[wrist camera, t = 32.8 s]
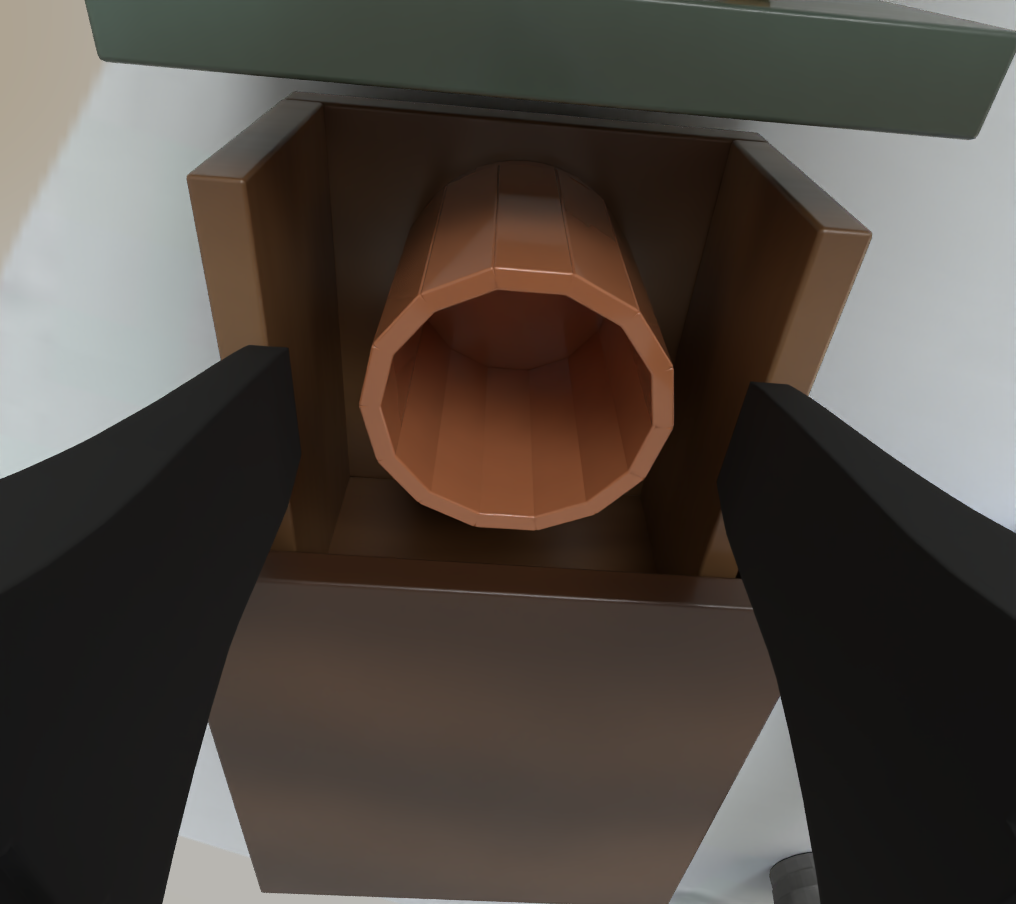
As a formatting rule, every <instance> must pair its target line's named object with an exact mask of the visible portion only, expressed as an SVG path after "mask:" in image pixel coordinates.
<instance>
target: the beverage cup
mask: <svg viewBox="0 0 1016 904" xmlns="http://www.w3.org/2000/svg"><path fill="white" fill-rule="evenodd" d="M769 877H770V881H771V884H772V888H773V890H772V892H773V898H774V904H820V897H819V890H818V883H817V876H816V870H815V865H814V859H813V853H806V854H801V855H796V856H793V857H790V858H787V859H785V860H783V861H781V862H779V863H778V864H776V865H775V866H774V867H773V868H772V869H771V870H770V876H769Z"/></svg>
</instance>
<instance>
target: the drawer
mask: <svg viewBox="0 0 1016 904" xmlns="http://www.w3.org/2000/svg"><path fill="white" fill-rule="evenodd" d="M85 4H86V8H87V12H88V16H89V20H90V24H91V29H92V33H93V37H94V41H95V46H96V50H97V54H98V56H99V58H100V59H101V60H103V61H105V62H113V63H124V64H135V65H146V66H157V67H168V68H179V69H190V70H201V71H212V72H223V73H234V74H245V75H256V76H267V77H278V78H289V79H300V80H311V81H323V82H334V83H345V84H356V85H367V86H378V87H389V88H400V89H411V90H422V91H433V92H444V93H455V94H466V95H477V96H488V97H499V98H510V99H521V100H532V101H543V102H554V103H565V104H577V105H588V106H599V107H610V108H621V109H632V110H643V111H654V112H665V113H676V114H687V115H698V116H709V117H720V118H731V119H742V120H753V121H764V122H775V123H786V124H797V125H808V126H820V127H831V128H842V129H853V130H864V131H875V132H886V133H897V134H908V135H919V136H930V137H941V138H952V139H963V140H971V139H975V138H976V137H977V136H978V134H979V132H980V130H981V127H982V125H983V123H984V121H985V119H986V116H987V114H988V112H989V110H990V108H991V105H992V103H993V101H994V99H995V97H996V94H997V92H998V90H999V88H1000V86H1001V83H1002V81H1003V79H1004V77H1005V75H1006V72H1007V70H1008V68H1009V66H1010V64H1011V61H1012V59H1013V57H1014V55H1015V53H1016V31H1014V30H1009V29H1005V28H1000V27H996V26H991V25H987V24H982V23H978V22H974V21H969V20H965V19H960V18H956V17H951V16H947V15H942V14H938V13H933V12H929V11H924V10H920V9H915V8H911V7H906V6H902V5H897V4H893V3H889V2H884V1H880V0H85ZM503 161H531V162H537V163H543V164H547V165H550V166H553V167H557V168H559V169H561V170H564V171H566V172H568V173H570V174H572V175H574V176H576V177H577V178H579V179H580V180H582V181H583V182H585V183H586V184H587V185H589V186H590V187H591V188H592V189H593V190H594V191H595V192H597V193H598V194H599V196H600V197H601V198H602V199H603V200H604V201H605V202H606V204H607V205H608V206H609V208H610V209H611V211H612V212H613V214H614V216H615V217H616V219H617V221H618V224H619V226H620V228H621V230H622V232H623V233H624V235H625V237H626V239H627V240H628V242H629V245H630V248H631V250H632V253H633V256H634V259H635V261H636V264H637V267H638V270H639V273H640V275H641V278H642V281H643V284H644V286H645V289H646V292H647V295H648V297H649V300H650V303H651V306H652V309H653V311H654V314H655V317H656V320H657V322H658V325H659V328H660V331H661V334H662V336H663V339H664V342H665V345H666V347H667V350H668V353H669V356H670V359H671V361H672V364H673V368H674V426H673V430H672V431H671V433H670V435H669V437H668V439H667V440H666V442H665V444H664V446H663V447H662V449H661V451H660V453H659V455H658V456H657V458H656V460H655V462H654V463H653V465H652V467H651V469H650V471H649V472H648V474H647V476H646V477H645V478H644V480H643V481H641V482H640V483H639V484H637V485H636V486H635V487H633V488H632V489H630V490H629V491H628V492H626V493H625V494H624V495H622V496H621V497H619V498H618V499H617V500H615V501H614V502H613V503H611V504H610V505H608V506H607V507H606V508H604V509H603V510H602V511H600V512H599V513H597V514H596V513H595V515H593V516H589V517H585V518H582V519H578V520H574V521H571V522H567V523H563V524H560V525H556V526H553V527H549V528H545V529H542V530H535V531H530V530H514V529H498V528H482V527H475V526H471V525H469V524H466V523H464V522H461V521H459V520H457V519H454V518H452V517H450V516H447V515H445V514H443V513H440V512H438V511H436V510H433V509H431V508H429V507H426V506H424V505H422V504H420V503H419V502H417V501H416V500H415V499H414V498H413V497H412V496H411V495H410V494H409V493H408V492H407V491H406V490H405V489H404V488H403V487H402V486H401V485H400V484H399V483H398V482H397V481H396V480H395V479H394V478H393V477H392V476H391V475H390V474H389V473H388V472H387V471H386V470H385V469H384V468H383V467H382V466H381V465H380V464H379V463H378V461H377V460H376V458H375V455H374V451H373V448H372V445H371V442H370V439H369V436H368V433H367V430H366V427H365V424H364V421H363V418H362V415H361V411H360V408H359V399H360V394H361V390H362V386H363V381H364V377H365V372H366V368H367V363H368V359H369V354H370V350H371V346H372V343H373V340H374V337H375V334H376V331H377V327H378V324H379V321H380V318H381V315H382V312H383V309H384V306H385V303H386V300H387V297H388V294H389V291H390V288H391V285H392V282H393V279H394V276H395V273H396V270H397V267H398V264H399V260H400V257H401V254H402V251H403V248H404V245H405V242H406V239H407V236H408V233H409V230H410V228H411V226H412V224H413V223H414V221H415V220H416V219H417V218H418V216H419V214H420V212H421V211H422V210H423V208H424V207H425V205H426V204H427V203H428V201H429V200H430V199H431V198H432V197H433V196H434V195H435V194H436V193H437V192H438V191H439V190H440V189H441V188H442V187H444V186H445V185H446V184H447V183H449V182H450V181H451V180H453V179H455V178H456V177H458V176H460V175H462V174H463V173H465V172H467V171H470V170H472V169H475V168H477V167H480V166H483V165H487V164H491V163H495V162H503ZM187 184H188V189H189V194H190V200H191V205H192V210H193V215H194V221H195V226H196V231H197V237H198V242H199V247H200V252H201V258H202V263H203V268H204V274H205V279H206V284H207V290H208V295H209V300H210V305H211V311H212V316H213V321H214V327H215V332H216V337H217V342H218V348H219V353H220V358H221V360H222V359H224V358H226V357H227V356H229V355H231V354H232V353H234V352H236V351H237V350H239V349H241V348H243V347H245V346H247V345H259V346H272V347H286V348H289V355H290V364H291V372H292V380H293V388H294V397H295V405H296V413H297V421H298V430H299V438H300V446H301V458H300V462H299V466H298V470H297V474H296V478H295V482H294V486H293V490H292V493H291V497H290V501H289V504H288V508H287V510H286V513H285V515H284V518H283V520H282V522H281V525H280V527H279V530H278V532H277V534H276V537H275V539H274V542H273V544H272V546H271V549H270V550H275V551H292V552H308V553H325V554H342V555H358V556H375V557H391V558H408V559H425V560H441V561H458V562H474V563H491V564H508V565H524V566H541V567H557V568H574V569H591V570H607V571H624V572H641V573H657V574H674V575H690V576H707V577H724V578H735V577H736V575H737V572H738V567H737V564H736V561H735V558H734V555H733V553H732V550H731V547H730V544H729V541H728V538H727V535H726V530H725V526H724V521H723V516H722V511H721V506H720V500H719V494H718V488H717V483H716V481H717V478H718V475H719V472H720V469H721V466H722V463H723V461H724V458H725V455H726V452H727V449H728V446H729V443H730V440H731V437H732V434H733V431H734V428H735V425H736V422H737V419H738V416H739V413H740V410H741V407H742V404H743V401H744V398H745V395H746V392H747V390H748V387H749V384H750V382H764V383H778V384H789V385H790V386H792V387H794V388H796V389H797V390H799V391H801V392H802V393H804V394H805V395H807V396H808V395H809V393H810V391H811V388H812V386H813V383H814V381H815V378H816V376H817V373H818V371H819V368H820V366H821V363H822V361H823V358H824V356H825V353H826V351H827V348H828V346H829V343H830V341H831V338H832V336H833V333H834V331H835V328H836V326H837V323H838V321H839V318H840V316H841V313H842V311H843V308H844V306H845V303H846V301H847V298H848V296H849V294H850V291H851V289H852V286H853V284H854V281H855V279H856V276H857V274H858V271H859V269H860V266H861V264H862V261H863V259H864V256H865V254H866V251H867V249H868V246H869V244H870V241H871V239H872V232H871V231H870V230H869V229H867V228H866V227H865V226H864V225H863V224H862V223H861V222H859V221H858V220H857V219H856V218H855V217H854V216H853V215H851V214H850V213H849V212H848V211H847V210H846V209H845V208H843V207H842V206H841V205H840V204H839V203H838V202H836V201H835V200H834V199H833V198H832V197H831V196H830V195H828V194H827V193H826V192H825V191H824V190H823V189H822V188H820V187H819V186H818V185H817V184H816V183H815V182H814V181H812V180H811V179H810V178H809V177H808V176H807V175H806V174H804V173H803V172H802V171H801V170H800V169H799V168H798V167H796V166H795V165H794V164H793V163H792V162H791V161H789V160H788V159H787V158H786V157H785V156H784V155H783V154H781V153H780V152H779V151H778V150H777V149H776V148H775V147H773V146H772V145H771V144H770V143H768V141H767V140H765V139H764V138H763V137H762V136H761V135H760V134H758V133H754V132H743V131H732V130H720V129H709V128H698V127H687V126H676V125H665V124H654V123H642V122H631V121H620V120H609V119H598V118H587V117H576V116H564V115H553V114H542V113H531V112H520V111H509V110H498V109H486V108H475V107H464V106H453V105H442V104H431V103H420V102H408V101H397V100H386V99H375V98H364V97H353V96H342V95H330V94H319V93H308V92H297V91H295V92H292V93H291V94H290V95H289V96H287V97H286V98H285V99H284V100H281V101H280V102H279V103H278V104H276V105H275V106H274V107H273V108H271V109H270V110H269V111H267V112H266V113H265V114H264V115H262V116H261V117H260V118H259V119H257V120H256V121H255V122H254V123H252V124H251V125H250V126H249V127H247V128H246V129H245V130H243V131H242V132H241V133H240V134H238V135H237V136H236V137H235V138H233V139H232V140H231V141H230V142H228V143H227V144H226V145H224V146H223V147H222V148H221V149H219V150H218V151H217V152H216V153H214V154H213V155H212V156H211V157H209V158H208V159H207V160H206V161H204V162H203V163H202V164H200V165H199V166H198V167H197V168H195V169H194V170H193V171H192V172H190V173H189V174H188V175H187Z"/></svg>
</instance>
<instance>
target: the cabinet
mask: <svg viewBox="0 0 1016 904" xmlns="http://www.w3.org/2000/svg"><path fill="white" fill-rule="evenodd" d="M779 697H780V692H779V688H778V683H777V679H776V676H775V673H774V669H773V666H772V663H771V660H770V656H769V653H768V650H767V647H766V645H765V642H764V639H763V636H762V634H761V631H760V628H759V625H758V622H757V620H756V617H755V614H754V611H753V609H752V606H751V603H750V600H749V598H748V595H747V592H746V589H745V587H744V584H743V581H742V578H741V575H740V573H739V570H738V572H737V575H736V577H735V578H724V577H707V576H690V575H674V574H657V573H641V572H624V571H607V570H591V569H574V568H557V567H541V566H524V565H508V564H491V563H474V562H458V561H441V560H425V559H408V558H391V557H375V556H358V555H342V554H325V553H308V552H292V551H275V550H270V551H269V553H268V556H267V558H266V560H265V563H264V565H263V567H262V570H261V572H260V575H259V577H258V579H257V582H256V584H255V586H254V589H253V591H252V593H251V596H250V598H249V600H248V603H247V605H246V607H245V610H244V612H243V614H242V617H241V619H240V621H239V624H238V627H237V629H236V632H235V635H234V637H233V640H232V643H231V646H230V648H229V651H228V655H227V658H226V661H225V665H224V668H223V671H222V675H221V678H220V681H219V685H218V688H217V691H216V695H215V698H214V702H213V705H212V708H211V712H210V716H209V719H208V723H209V726H210V729H211V732H212V736H213V739H214V742H215V745H216V748H217V752H218V755H219V758H220V761H221V764H222V768H223V771H224V774H225V777H226V780H227V784H228V787H229V790H230V793H231V796H232V800H233V803H234V806H235V809H236V813H237V816H238V819H239V822H240V825H241V829H242V832H243V835H244V838H245V841H246V845H247V848H248V851H249V854H250V857H251V860H252V864H253V867H254V870H255V873H256V877H257V879H258V883H259V886H260V889H261V892H264V893H265V892H266V893H288V894H289V893H291V894H314V895H315V894H316V895H341V896H367V897H369V896H370V897H393V898H419V899H445V900H471V901H497V902H524V903H550V904H668V903H669V902H670V900H671V898H672V896H673V894H674V892H675V890H676V888H677V887H678V885H679V883H680V881H681V879H682V877H683V875H684V874H685V872H686V870H687V868H688V866H689V864H690V862H691V861H692V859H693V857H694V855H695V853H696V851H697V849H698V848H699V846H700V844H701V842H702V840H703V838H704V836H705V835H706V833H707V831H708V829H709V827H710V825H711V823H712V821H713V820H714V818H715V816H716V814H717V812H718V810H719V808H720V807H721V805H722V803H723V801H724V799H725V797H726V795H727V794H728V792H729V790H730V788H731V786H732V784H733V782H734V781H735V779H736V777H737V775H738V773H739V771H740V769H741V768H742V766H743V764H744V762H745V760H746V758H747V756H748V754H749V753H750V751H751V749H752V747H753V745H754V743H755V741H756V740H757V738H758V736H759V734H760V732H761V730H762V728H763V727H764V725H765V723H766V721H767V719H768V717H769V715H770V714H771V712H772V710H773V708H774V706H775V704H776V702H777V700H778V699H779Z"/></svg>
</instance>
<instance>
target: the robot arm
mask: <svg viewBox="0 0 1016 904" xmlns="http://www.w3.org/2000/svg"><path fill="white" fill-rule="evenodd" d="M300 458H301V446H300V438H299V430H298V421H297V413H296V405H295V397H294V388H293V380H292V372H291V364H290V355H289V348H286V347H272V346H259V345H247V346H245V347H243V348H241V349H239V350H237V351H236V352H234V353H232V354H231V355H229V356H227V357H226V358H224V359H222V360H221V361H219V362H218V363H216V364H214V365H213V366H211V367H210V368H208V369H207V370H205V371H204V372H202V373H200V374H199V375H197V376H196V377H194V378H193V379H191V380H189V381H188V382H186V383H185V384H183V385H181V386H180V387H178V388H177V389H175V390H173V391H172V392H170V393H168V394H167V395H165V396H164V397H162V398H160V399H159V400H157V401H156V402H154V403H152V404H151V405H149V406H147V407H145V408H143V409H142V410H140V411H138V412H136V413H135V414H133V415H131V416H129V417H127V418H126V419H124V420H122V421H120V422H119V423H117V424H115V425H113V426H111V427H110V428H108V429H106V430H104V431H103V432H101V433H99V434H97V435H95V436H94V437H92V438H90V439H88V440H86V441H84V442H82V443H80V444H78V445H76V446H74V447H72V448H70V449H68V450H66V451H63V452H61V453H59V454H57V455H55V456H53V457H50V458H48V459H46V460H44V461H42V462H39V463H37V464H35V465H33V466H30V467H28V468H26V469H24V470H21V471H19V472H17V473H14V474H12V475H10V476H7V477H5V478H2V479H0V904H162V902H163V898H164V894H165V889H166V885H167V880H168V876H169V872H170V867H171V863H172V858H173V854H174V850H175V845H176V841H177V837H178V833H179V829H180V826H181V822H182V818H183V814H184V810H185V806H186V802H187V798H188V794H189V790H190V786H191V782H192V778H193V774H194V770H195V766H196V763H197V759H198V755H199V752H200V748H201V745H202V741H203V737H204V734H205V730H206V726H207V723H208V719H209V716H210V712H211V708H212V705H213V702H214V698H215V695H216V691H217V688H218V685H219V681H220V678H221V675H222V671H223V668H224V665H225V661H226V658H227V655H228V651H229V648H230V646H231V643H232V640H233V637H234V635H235V632H236V629H237V627H238V624H239V621H240V619H241V617H242V614H243V612H244V610H245V607H246V605H247V603H248V600H249V598H250V596H251V593H252V591H253V589H254V586H255V584H256V582H257V579H258V577H259V575H260V572H261V570H262V567H263V565H264V563H265V560H266V558H267V556H268V553H269V551H270V549H271V546H272V544H273V542H274V539H275V537H276V534H277V532H278V530H279V527H280V525H281V522H282V520H283V518H284V515H285V513H286V510H287V508H288V504H289V501H290V497H291V493H292V490H293V486H294V482H295V478H296V474H297V470H298V466H299V462H300ZM716 483H717V488H718V494H719V500H720V506H721V511H722V516H723V521H724V526H725V530H726V535H727V538H728V541H729V544H730V547H731V550H732V553H733V555H734V558H735V561H736V564H737V567H738V570H739V573H740V575H741V578H742V581H743V584H744V587H745V589H746V592H747V595H748V598H749V600H750V603H751V606H752V609H753V611H754V614H755V617H756V620H757V622H758V625H759V628H760V631H761V634H762V636H763V639H764V642H765V645H766V647H767V650H768V653H769V656H770V660H771V663H772V666H773V669H774V673H775V676H776V679H777V683H778V688H779V692H780V696H781V700H782V705H783V709H784V713H785V717H786V722H787V726H788V730H789V734H790V739H791V744H792V748H793V753H794V758H795V763H796V768H797V773H798V777H799V782H800V787H801V792H802V797H803V802H804V808H805V813H806V819H807V825H808V830H809V836H810V842H811V848H812V853H813V859H814V865H815V870H816V876H817V883H818V890H819V897H820V904H1016V533H1014V532H1012V531H1011V530H1009V529H1007V528H1005V527H1003V526H1002V525H1000V524H998V523H996V522H994V521H993V520H991V519H989V518H987V517H985V516H984V515H982V514H980V513H978V512H977V511H975V510H973V509H972V508H970V507H968V506H967V505H965V504H963V503H962V502H960V501H958V500H957V499H955V498H953V497H952V496H950V495H949V494H947V493H946V492H944V491H943V490H941V489H940V488H938V487H937V486H935V485H933V484H932V483H930V482H929V481H927V480H926V479H924V478H923V477H921V476H920V475H918V474H916V473H915V472H914V471H912V470H911V469H909V468H908V467H906V466H905V465H903V464H902V463H900V462H899V461H898V460H896V459H895V458H893V457H892V456H890V455H889V454H888V453H886V452H885V451H883V450H882V449H881V448H879V447H878V446H876V445H875V444H874V443H872V442H871V441H869V440H868V439H867V438H865V437H864V436H863V435H861V434H860V433H859V432H857V431H856V430H854V429H853V428H852V427H850V426H849V425H848V424H846V423H845V422H843V421H842V420H841V419H839V418H838V417H837V416H835V415H834V414H833V413H831V412H830V411H828V410H827V409H826V408H824V407H823V406H821V405H820V404H819V403H817V402H816V401H814V400H813V399H811V398H810V397H808V396H807V395H805V394H804V393H802V392H801V391H799V390H797V389H796V388H794V387H792V386H790V385H789V384H778V383H764V382H750V384H749V387H748V390H747V392H746V395H745V398H744V401H743V404H742V407H741V410H740V413H739V416H738V419H737V422H736V425H735V428H734V431H733V434H732V437H731V440H730V443H729V446H728V449H727V452H726V455H725V458H724V461H723V463H722V466H721V469H720V472H719V475H718V478H717V481H716Z"/></svg>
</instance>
